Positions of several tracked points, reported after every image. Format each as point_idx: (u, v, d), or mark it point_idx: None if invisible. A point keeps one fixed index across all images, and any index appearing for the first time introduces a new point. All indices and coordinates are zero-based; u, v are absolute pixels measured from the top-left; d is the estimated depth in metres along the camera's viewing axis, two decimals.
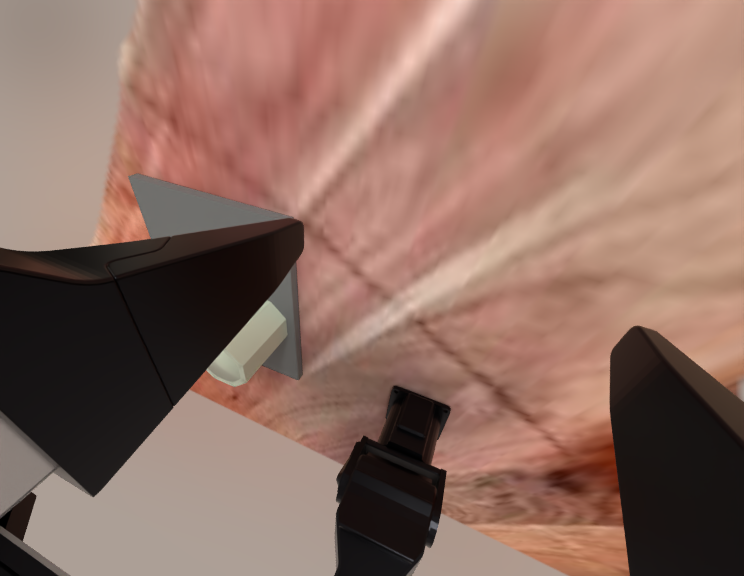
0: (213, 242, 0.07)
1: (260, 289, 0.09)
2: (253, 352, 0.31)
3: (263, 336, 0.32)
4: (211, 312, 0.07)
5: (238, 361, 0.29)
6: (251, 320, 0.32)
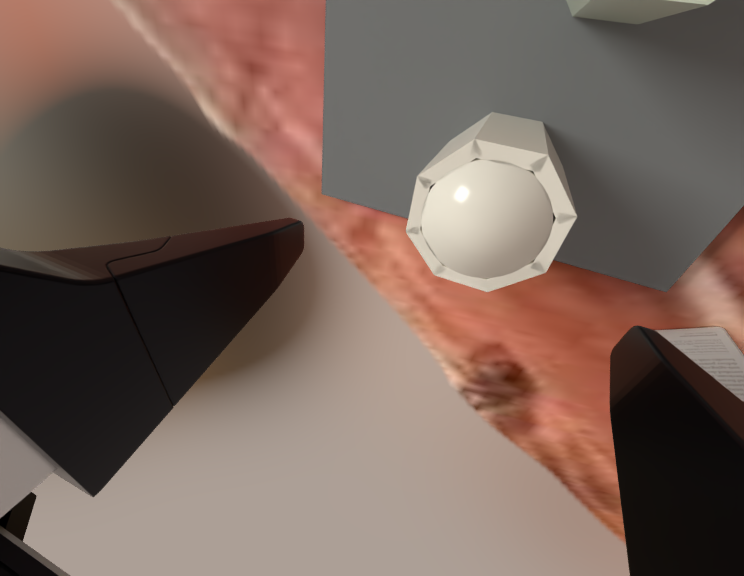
0: (213, 242, 0.07)
1: (260, 289, 0.09)
2: None
3: None
4: (211, 312, 0.07)
5: None
6: None
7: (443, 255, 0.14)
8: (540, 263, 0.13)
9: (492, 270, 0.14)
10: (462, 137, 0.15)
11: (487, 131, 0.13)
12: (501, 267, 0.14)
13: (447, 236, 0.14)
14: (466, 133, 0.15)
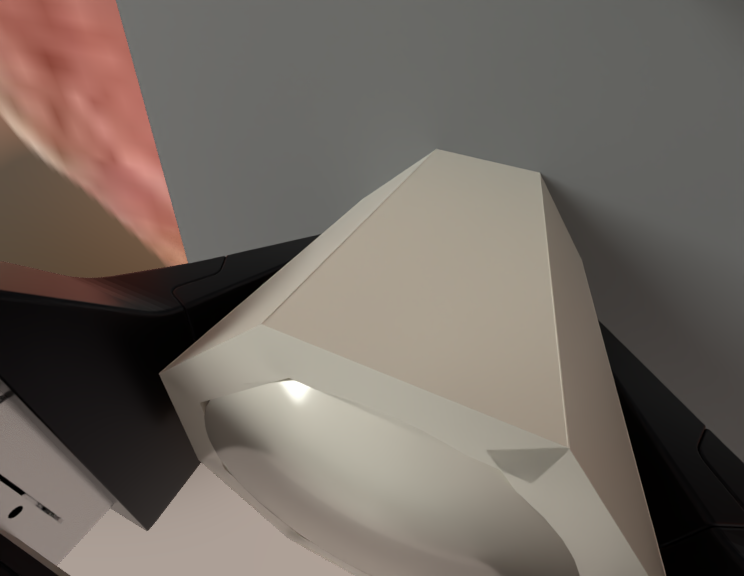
0: (269, 262, 0.07)
1: None
2: None
3: None
4: None
5: None
6: None
7: (291, 522, 0.06)
8: None
9: None
10: (351, 218, 0.06)
11: (369, 241, 0.04)
12: None
13: (286, 499, 0.05)
14: (368, 203, 0.07)
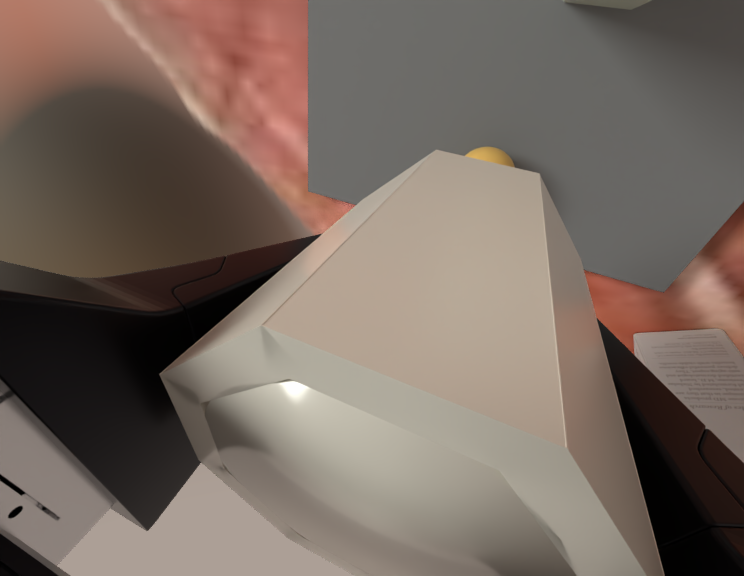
0: (269, 262, 0.07)
1: None
2: None
3: None
4: None
5: None
6: None
7: (291, 522, 0.06)
8: None
9: None
10: (350, 219, 0.06)
11: (369, 242, 0.04)
12: None
13: (286, 500, 0.05)
14: (368, 204, 0.07)
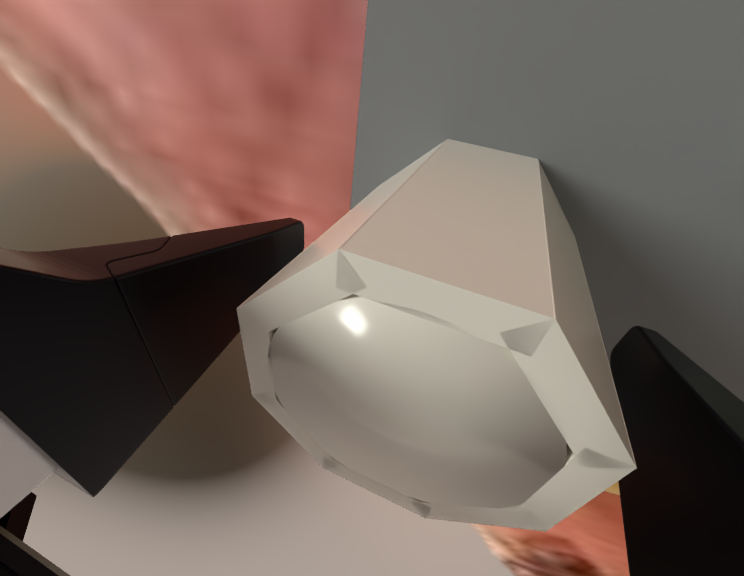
0: (213, 242, 0.07)
1: None
2: None
3: None
4: (211, 312, 0.07)
5: None
6: None
7: (330, 447, 0.07)
8: (533, 515, 0.05)
9: (429, 494, 0.06)
10: (377, 194, 0.07)
11: (403, 203, 0.05)
12: (447, 495, 0.06)
13: (330, 421, 0.06)
14: (390, 183, 0.08)
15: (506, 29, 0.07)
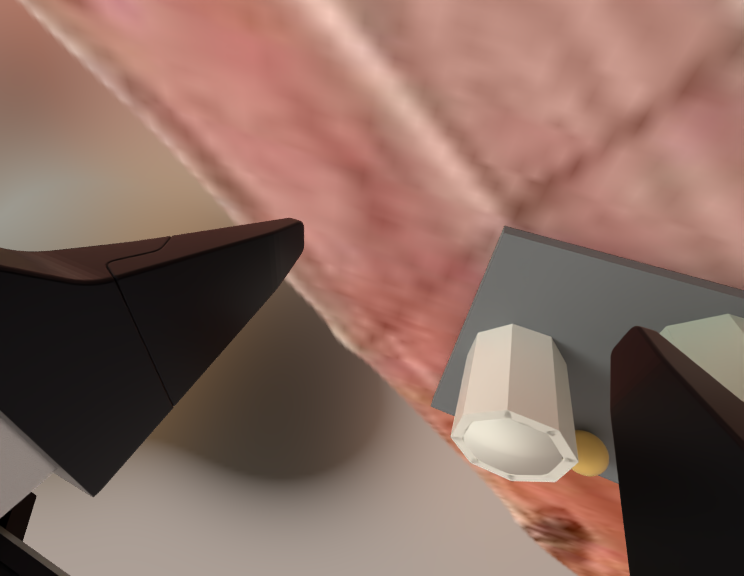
0: (213, 242, 0.07)
1: (260, 289, 0.09)
2: None
3: None
4: (211, 312, 0.07)
5: None
6: None
7: (478, 455, 0.19)
8: (551, 476, 0.18)
9: (515, 471, 0.19)
10: (492, 361, 0.20)
11: (514, 384, 0.18)
12: (522, 471, 0.19)
13: (483, 447, 0.19)
14: (494, 352, 0.20)
15: (540, 298, 0.20)
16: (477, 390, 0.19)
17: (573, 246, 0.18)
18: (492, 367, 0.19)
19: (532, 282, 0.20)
